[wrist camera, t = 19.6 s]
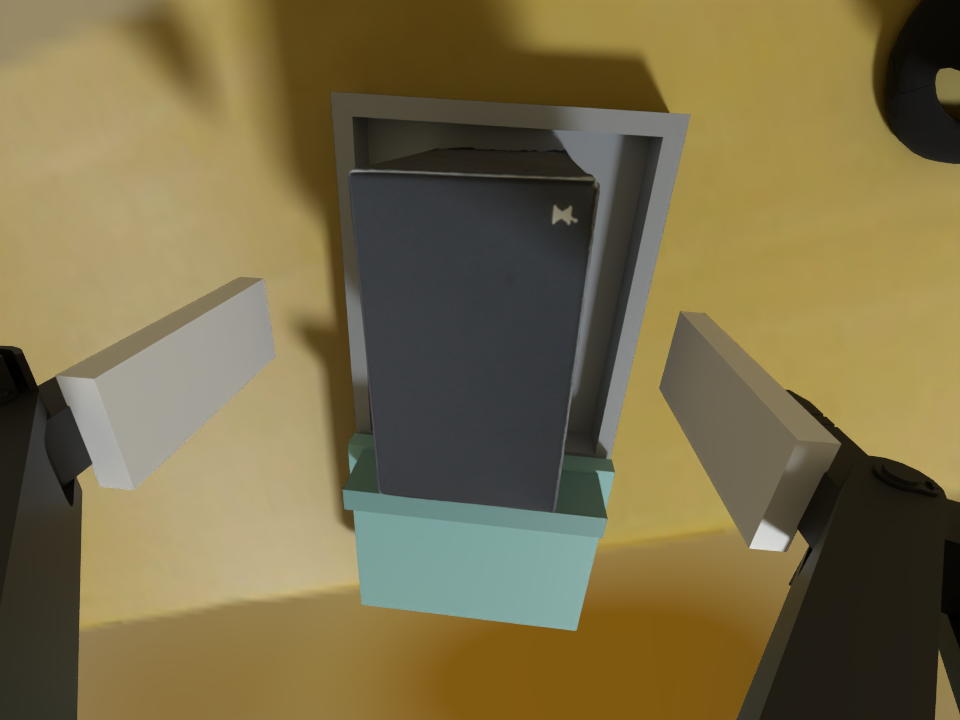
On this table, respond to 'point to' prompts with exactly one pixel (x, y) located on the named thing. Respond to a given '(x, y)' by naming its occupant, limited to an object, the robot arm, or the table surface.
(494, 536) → the lid
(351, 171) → the small box
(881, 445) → the table surface
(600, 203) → the tray
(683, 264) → the table surface
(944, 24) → the webcam
